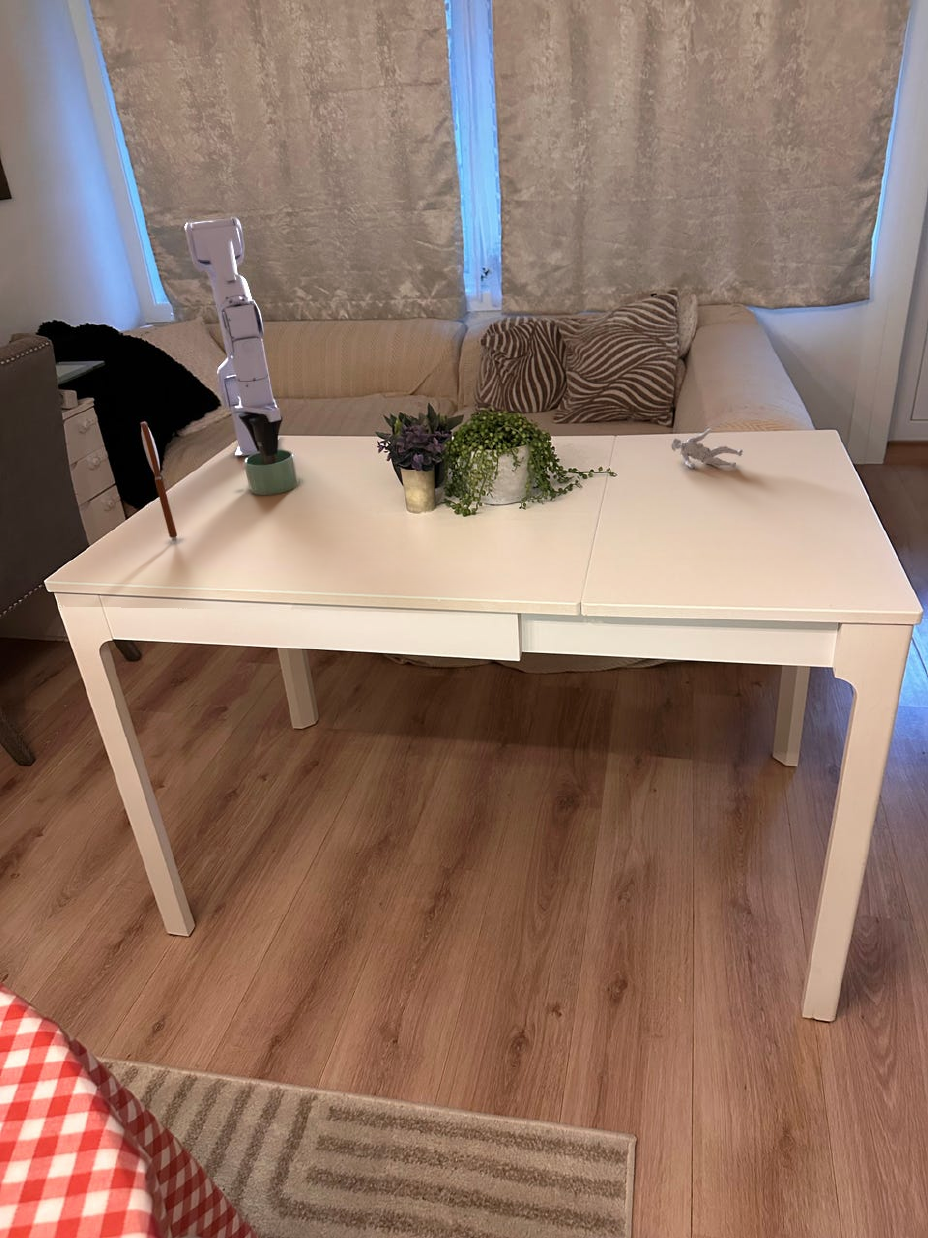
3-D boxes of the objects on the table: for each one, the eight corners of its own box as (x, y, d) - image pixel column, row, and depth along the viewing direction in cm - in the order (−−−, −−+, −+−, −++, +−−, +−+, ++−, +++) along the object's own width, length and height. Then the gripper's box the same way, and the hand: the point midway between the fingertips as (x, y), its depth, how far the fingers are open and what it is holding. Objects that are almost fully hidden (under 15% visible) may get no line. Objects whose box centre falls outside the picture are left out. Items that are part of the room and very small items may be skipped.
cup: (253, 480, 173) (247, 452, 170) (299, 475, 173) (294, 447, 170) (247, 497, 165) (241, 468, 162) (295, 491, 165) (290, 462, 163)
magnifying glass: (183, 549, 147) (151, 428, 137) (172, 552, 146) (140, 430, 136) (177, 531, 154) (146, 414, 144) (166, 533, 153) (135, 416, 143)
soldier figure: (726, 480, 155) (661, 453, 158) (725, 490, 159) (662, 463, 163) (747, 440, 155) (682, 414, 159) (745, 451, 160) (682, 425, 163)
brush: (261, 460, 168) (253, 422, 165) (278, 458, 168) (271, 420, 165) (259, 466, 165) (251, 427, 162) (277, 464, 165) (269, 426, 162)
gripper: (215, 375, 163) (231, 448, 169) (247, 389, 152) (262, 467, 159) (252, 367, 166) (266, 439, 173) (285, 380, 155) (299, 456, 162)
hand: (267, 452), depth 166 cm, fingers closed on brush, 3 cm apart
